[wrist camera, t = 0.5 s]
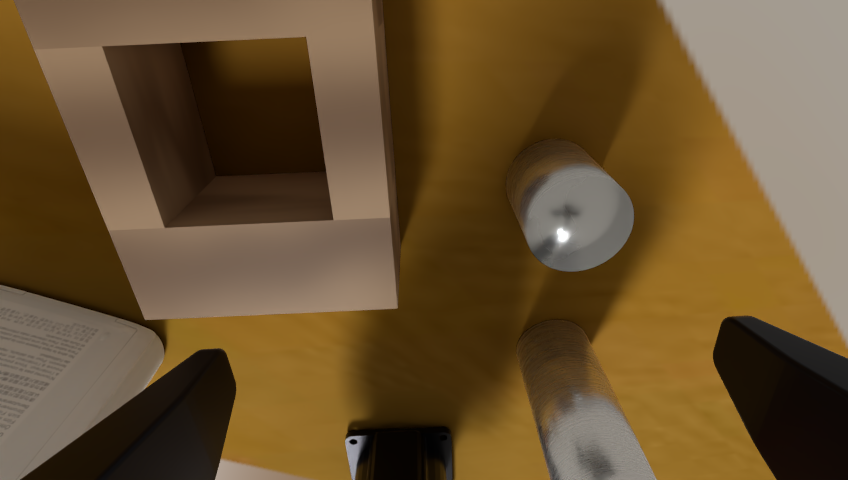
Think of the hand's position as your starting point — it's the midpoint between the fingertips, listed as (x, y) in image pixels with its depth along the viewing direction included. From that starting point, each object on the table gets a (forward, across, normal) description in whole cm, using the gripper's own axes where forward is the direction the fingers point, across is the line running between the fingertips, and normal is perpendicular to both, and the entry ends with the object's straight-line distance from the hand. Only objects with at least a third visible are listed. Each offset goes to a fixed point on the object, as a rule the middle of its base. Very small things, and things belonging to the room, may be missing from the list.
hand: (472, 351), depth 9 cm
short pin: (+14, -5, +2) cm, 15 cm away
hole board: (+14, +7, -2) cm, 15 cm away
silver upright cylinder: (+14, -6, +12) cm, 19 cm away
